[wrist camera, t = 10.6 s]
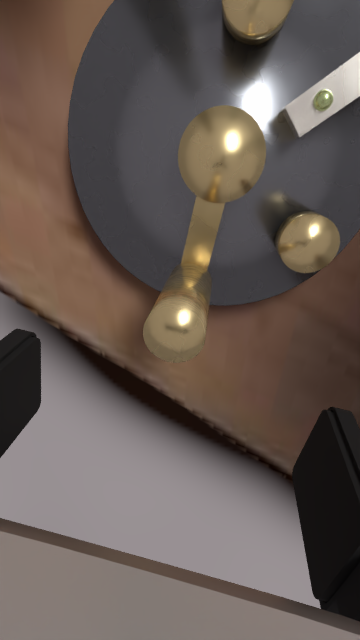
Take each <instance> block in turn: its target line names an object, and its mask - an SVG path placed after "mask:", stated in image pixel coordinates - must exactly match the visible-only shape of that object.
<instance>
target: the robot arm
mask: <svg viewBox="0 0 360 640" xmlns="http://www.w3.org/2000/svg"><path fill="white" fill-rule="evenodd" d="M40 403H41V342H40V339H38V338H37V337H36V334H35V333H33V332H29V331H25V330H21V329H15V330H14V331H12V332H11V333H10V334H8V335H7V336H6V337H4V338H3V339H2V340H0V458H1V456H2V455H3V454H4V453H5V451H6V450H7V449H8V448H9V446H10V445H11V444H12V443H13V441H14V440H15V439H16V437H17V436H18V435H19V434H20V432H21V431H22V429H24V427H25V426H26V425H27V423H28V422H29V421H30V420H31V418H32V417H33V416H34V415H35V413H36V412H37V411H38V409H39V407H40ZM292 478H293V484H294V490H295V495H296V501H297V507H298V512H299V518H300V524H301V530H302V535H303V541H304V547H305V552H306V557H307V563H308V569H309V575H310V580H311V586H312V591H313V595H314V597H315V598H316V599H319V601H320V605H321V609H319V608H316V607H313V606H309V605H306V604H303V603H299V602H296V601H293V600H289V599H286V598H283V597H280V596H276V595H273V594H269V593H266V592H262V591H258V590H255V589H252V588H248V587H245V586H241V585H238V584H234V583H231V582H227V581H224V580H220V579H217V578H213V577H210V576H206V575H203V574H199V573H196V572H192V571H189V570H185V569H182V568H178V567H174V566H171V565H168V564H164V563H160V562H157V561H153V560H150V559H146V558H143V557H139V556H136V555H132V554H129V553H125V552H121V551H118V550H114V549H111V548H107V547H103V546H100V545H96V544H93V543H89V542H85V541H82V540H78V539H75V538H71V537H67V536H64V535H60V534H57V533H53V532H49V531H46V530H42V529H38V528H35V527H31V526H27V525H24V524H20V523H16V522H12V521H9V520H5V519H2V518H0V640H360V429H359V427H358V424H357V422H356V420H355V418H354V416H353V414H352V412H350V411H347V410H343V409H339V408H335V407H330V408H329V409H328V410H323V411H322V412H321V414H320V416H319V418H318V420H317V422H316V424H315V426H314V428H313V430H312V432H311V434H310V436H309V438H308V440H307V442H306V443H305V445H304V447H303V449H302V451H301V453H300V455H299V457H298V459H297V461H296V463H295V465H294V468H293V472H292Z"/></svg>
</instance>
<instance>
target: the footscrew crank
mask: <svg viewBox="0 0 360 640" xmlns="http://www.w3.org/2000/svg"><path fill="white" fill-rule="evenodd" d="M265 159H266V144H265V139H264V135H263V132H262V130H261V128H260V126H259V125H258V123H257V122H256V120H255V119H254V118H253V117H252V116H251V115H250V114H248V113H247V112H246V111H244V110H242V109H240V108H237V107H234V106H228V105H221V106H215V107H212V108H209V109H207V110H205V111H203V112H201V113H200V114H198V115H197V116H196V117H195V118H194V119H193V120H192V121H191V122H190V123H189V125H188V126H187V128H186V129H185V131H184V133H183V135H182V138H181V140H180V144H179V150H178V164H179V169H180V173H181V176H182V178H183V180H184V182H185V184H186V185H187V187H188V188H189V189H190V190H191V191H192V192H193V193H194V194H195V195H196V200H195V204H194V208H193V213H192V217H191V222H190V226H189V230H188V235H187V239H186V244H185V248H184V252H183V257H182V261H181V264H179V265H177V266H176V267H175V268H174V269H173V270H172V272H171V274H170V276H169V278H168V279H167V281H166V283H165V285H164V287H163V289H162V291H161V293H160V295H159V297H158V299H157V301H156V302H155V304H154V306H153V308H152V310H151V312H150V314H149V316H148V318H147V320H146V322H145V324H144V327H143V338H144V342H145V344H146V346H147V347H148V349H149V350H150V351H151V352H152V353H153V354H154V355H155V356H156V357H158V358H160V359H162V360H164V361H167V362H173V363H180V362H185V361H188V360H191V359H192V358H194V357H195V356H197V355H198V354H199V352H200V351H201V350H202V348H203V346H204V342H205V336H206V328H207V320H208V312H209V304H210V296H211V288H212V278H211V275H210V273H209V271H208V270H207V269H208V266H209V262H210V258H211V254H212V251H213V247H214V243H215V239H216V236H217V232H218V228H219V224H220V221H221V217H222V213H223V209H224V206H225V203H226V202H230V201H233V200H236V199H238V198H240V197H242V196H243V195H245V194H246V193H247V192H248V191H250V190H251V189H252V187H253V186H254V185H255V184H256V182H257V181H258V179H259V177H260V175H261V174H262V171H263V168H264V164H265Z"/></svg>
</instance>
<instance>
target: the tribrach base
mask: <svg viewBox="0 0 360 640" xmlns="http://www.w3.org/2000/svg"><path fill="white" fill-rule="evenodd" d="M221 105H228V106H234V107H237V108H240V109H242V110H244V111H246V112H247V113H248V114H250V115H251V116H252V117H253V118H254V119H255V120H256V122H257V123H258V125H259V126H260V128H261V130H262V132H263V135H264V139H265V144H266V159H265V164H264V168H263V171H262V174H261V175H260V177H259V179H258V181H257V182H256V184H255V185H254V186H253V187H252V189H251V190H250V191H248V192H247V193H246V194H245V195H243V196H242V197H240V198H238V199H236V200H233V201H230V202H226V203H225V206H224V209H223V213H222V217H221V221H220V224H219V228H218V232H217V236H216V239H215V243H214V247H213V251H212V254H211V258H210V262H209V266H208V269H207V270H208V271H209V273H210V275H211V278H212V288H211V296H210V304H209V305H223V306H225V305H238V304H245V303H250V302H255V301H260V300H263V299H266V298H269V297H272V296H276V295H278V294H280V293H283V292H285V291H287V290H289V289H291V288H293V287H295V286H297V285H299V284H300V283H302V282H304V281H305V280H307V279H309V278H310V277H312V276H313V275H314V274H316V273H317V272H318V271H320V270H321V269H322V268H324V267H326V266H327V265H328V264H329V263H330V262H331V261H332V260H333V259H334V258H335V257H336V256H337V255H338V254H339V253H340V252H341V251H342V250H343V249H344V248H345V246H346V245H347V244H348V243H349V242H350V240H351V239H352V238H353V237H354V235H355V234H356V233H357V232H358V230H359V229H360V0H114V2H113V3H112V4H111V5H110V6H109V8H108V9H107V11H106V12H105V14H104V15H103V17H102V19H101V20H100V22H99V23H98V25H97V26H96V28H95V30H94V32H93V34H92V36H91V38H90V40H89V42H88V44H87V46H86V48H85V51H84V53H83V55H82V58H81V61H80V64H79V67H78V70H77V73H76V76H75V81H74V86H73V90H72V95H71V100H70V109H69V120H68V148H69V156H70V163H71V171H72V175H73V179H74V183H75V187H76V191H77V194H78V196H79V199H80V202H81V204H82V207H83V210H84V212H85V214H86V216H87V218H88V220H89V222H90V224H91V226H92V228H93V229H94V231H95V233H96V234H97V236H98V237H99V239H100V240H101V242H102V243H103V245H104V246H105V247H106V248H107V249H108V251H109V252H110V253H111V254H112V256H113V257H114V258H115V259H116V260H117V261H118V262H119V263H120V264H121V265H122V266H123V267H124V268H125V269H127V270H128V271H129V272H130V273H131V274H133V275H134V276H135V277H137V278H138V279H139V280H141V281H142V282H144V283H146V284H147V285H149V286H151V287H152V288H154V289H156V290H158V291H160V292H161V291H162V289H163V287H164V285H165V283H166V281H167V279H168V278H169V276H170V274H171V272H172V270H173V269H174V268H175V267H176V266H177V265H179V264H181V261H182V257H183V252H184V248H185V244H186V239H187V235H188V230H189V226H190V222H191V217H192V213H193V208H194V204H195V200H196V195H195V194H194V193H193V192H192V191H191V190H190V189H189V188H188V187H187V185H186V184H185V182H184V180H183V178H182V176H181V173H180V169H179V164H178V150H179V144H180V140H181V138H182V135H183V133H184V131H185V129H186V128H187V126H188V125H189V123H190V122H191V121H192V120H193V119H194V118H195V117H196V116H197V115H198V114H200V113H201V112H203V111H205V110H207V109H209V108H212V107H215V106H221Z"/></svg>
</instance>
